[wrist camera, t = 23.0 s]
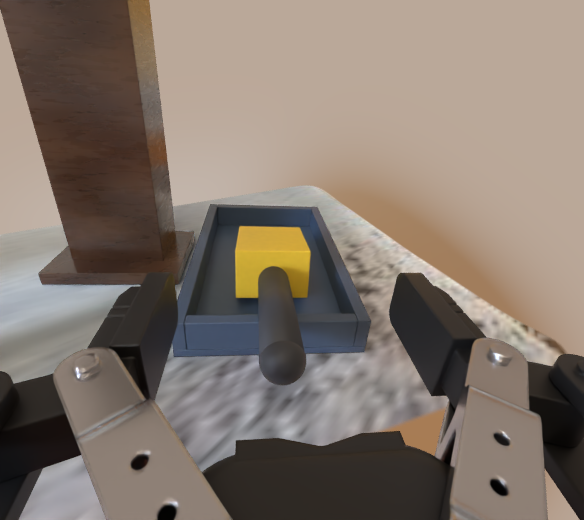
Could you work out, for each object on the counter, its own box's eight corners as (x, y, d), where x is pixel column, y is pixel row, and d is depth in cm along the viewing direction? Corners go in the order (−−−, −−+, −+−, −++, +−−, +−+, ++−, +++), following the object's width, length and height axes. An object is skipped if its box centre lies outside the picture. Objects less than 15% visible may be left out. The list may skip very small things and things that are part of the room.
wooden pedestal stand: (41, 284, 25) (-281, -630, 10) (87, 239, 32) (-59, -338, 17) (178, 284, 26) (81, -534, 11) (194, 240, 33) (148, -298, 18)
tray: (173, 357, 20) (168, 323, 18) (211, 225, 37) (210, 204, 36) (364, 352, 21) (371, 321, 20) (315, 227, 38) (317, 206, 37)
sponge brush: (222, 412, 14) (219, 340, 12) (239, 265, 29) (239, 225, 27) (341, 407, 14) (350, 338, 13) (297, 265, 29) (300, 227, 28)
